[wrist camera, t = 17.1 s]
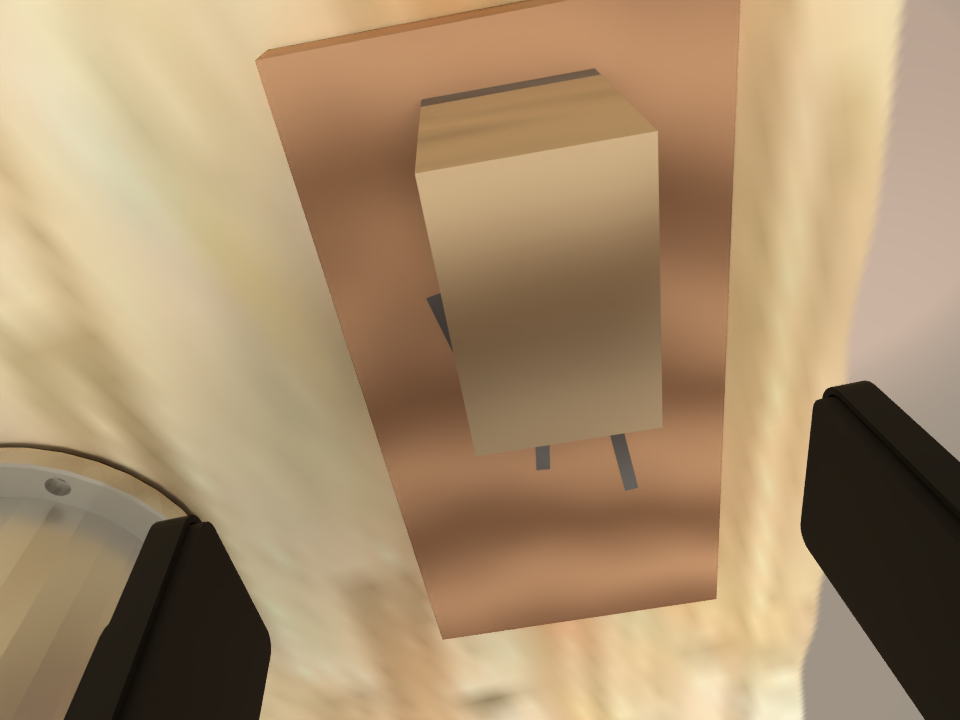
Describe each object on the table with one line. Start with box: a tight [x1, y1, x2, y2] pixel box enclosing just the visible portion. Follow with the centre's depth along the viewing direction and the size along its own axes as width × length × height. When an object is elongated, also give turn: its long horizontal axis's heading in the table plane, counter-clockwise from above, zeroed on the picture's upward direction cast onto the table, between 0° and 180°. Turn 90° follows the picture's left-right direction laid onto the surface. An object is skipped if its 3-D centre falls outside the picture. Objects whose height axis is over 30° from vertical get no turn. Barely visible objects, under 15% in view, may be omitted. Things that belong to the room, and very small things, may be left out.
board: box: [255, 0, 740, 639], centre depth 24 cm, size 24×12×2 cm, turn 10°
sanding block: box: [415, 68, 663, 456], centre depth 17 cm, size 7×4×6 cm, turn 9°
